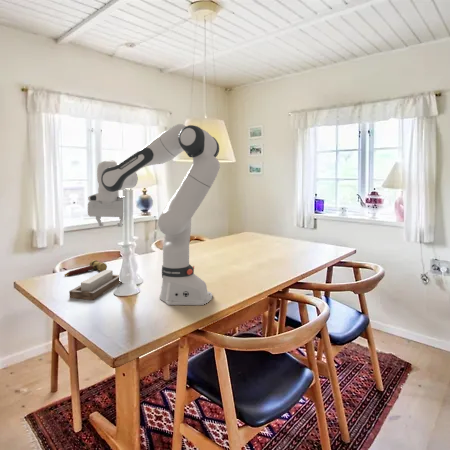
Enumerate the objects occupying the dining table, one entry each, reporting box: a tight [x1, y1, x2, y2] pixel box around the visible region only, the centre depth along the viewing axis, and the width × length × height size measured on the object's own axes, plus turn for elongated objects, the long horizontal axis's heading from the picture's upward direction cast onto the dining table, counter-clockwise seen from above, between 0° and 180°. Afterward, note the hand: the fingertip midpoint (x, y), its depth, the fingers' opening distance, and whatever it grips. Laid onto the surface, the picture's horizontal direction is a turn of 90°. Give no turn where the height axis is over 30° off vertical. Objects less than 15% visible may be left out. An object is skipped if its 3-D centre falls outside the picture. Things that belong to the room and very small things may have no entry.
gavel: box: [64, 259, 108, 277], centre depth 188 cm, size 21×5×10 cm
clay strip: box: [80, 269, 114, 292], centre depth 162 cm, size 4×20×5 cm, turn 169°
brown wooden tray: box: [68, 274, 120, 301], centre depth 162 cm, size 11×26×3 cm, turn 169°
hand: (110, 226), depth 166 cm, fingers open, 8 cm apart
